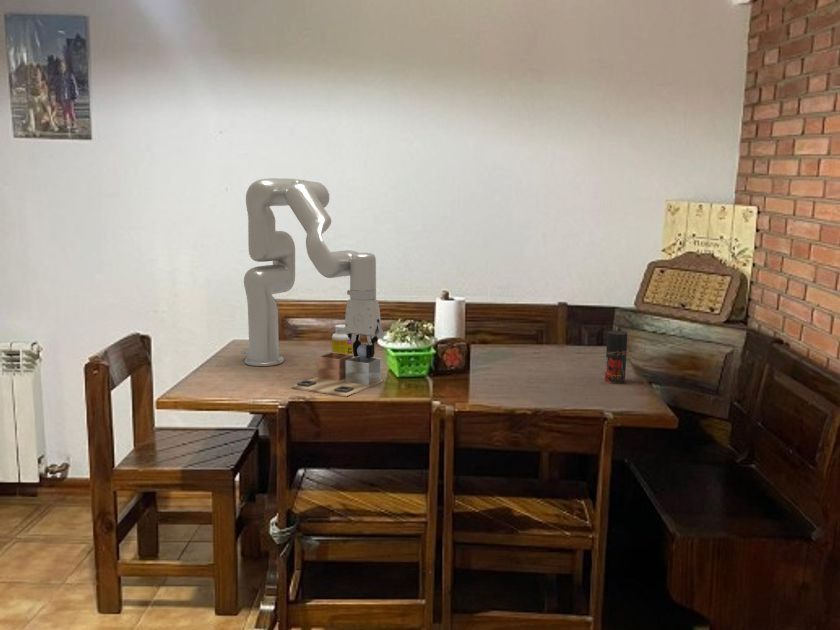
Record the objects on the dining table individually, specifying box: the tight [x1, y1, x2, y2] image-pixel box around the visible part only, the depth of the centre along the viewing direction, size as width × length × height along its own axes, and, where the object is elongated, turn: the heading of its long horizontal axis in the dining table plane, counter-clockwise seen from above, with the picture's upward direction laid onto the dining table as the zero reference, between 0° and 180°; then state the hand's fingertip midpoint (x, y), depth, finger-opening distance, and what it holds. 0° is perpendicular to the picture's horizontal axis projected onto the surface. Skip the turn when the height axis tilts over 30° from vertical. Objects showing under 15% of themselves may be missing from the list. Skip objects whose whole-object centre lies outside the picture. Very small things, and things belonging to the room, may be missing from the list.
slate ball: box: [357, 343, 368, 358], centre depth 240 cm, size 4×4×4 cm
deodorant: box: [604, 330, 628, 385], centre depth 245 cm, size 6×6×15 cm
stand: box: [290, 351, 384, 396], centre depth 238 cm, size 19×20×7 cm
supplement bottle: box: [331, 324, 354, 356], centre depth 263 cm, size 7×7×13 cm
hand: (363, 356), depth 241 cm, fingers closed on slate ball, 3 cm apart
